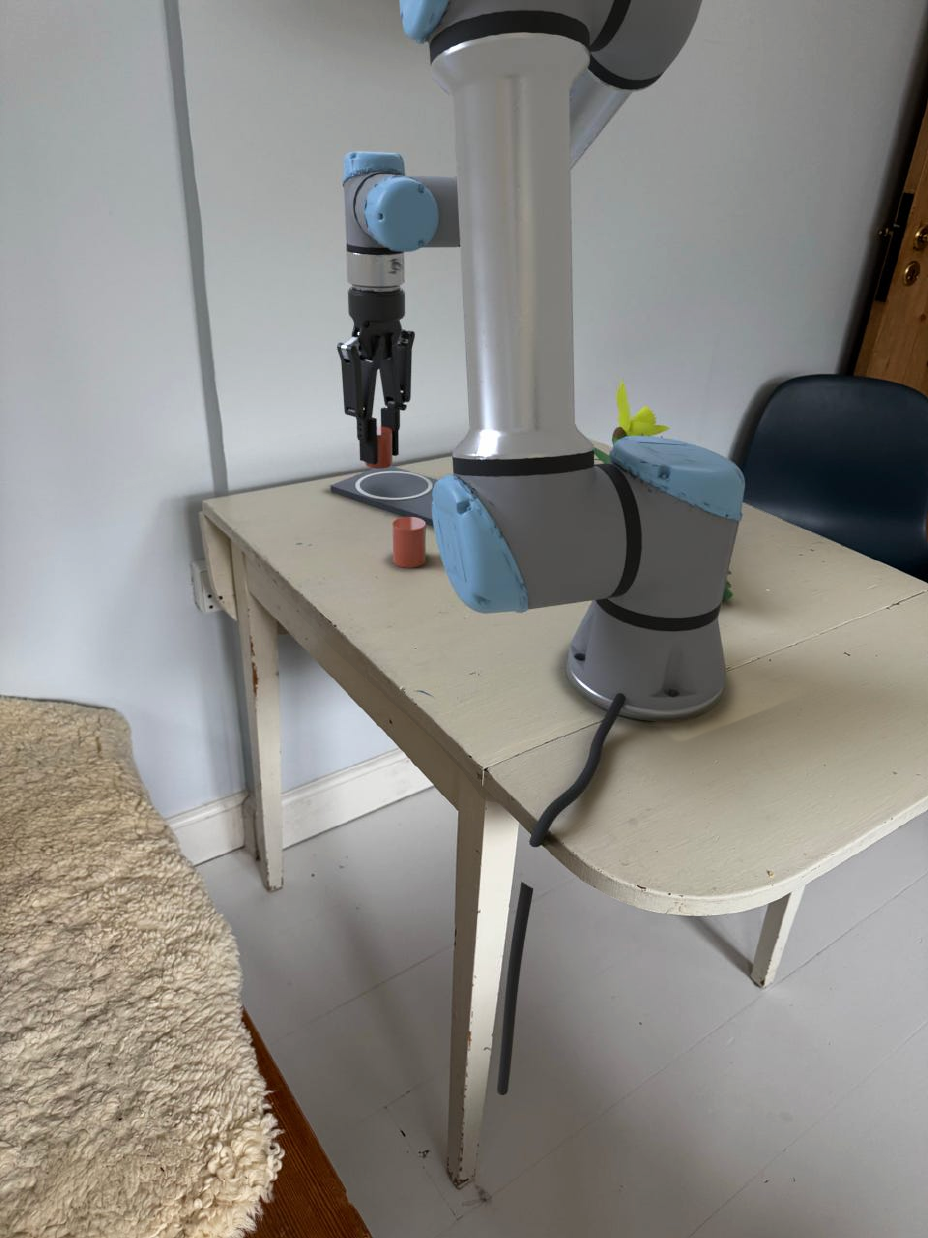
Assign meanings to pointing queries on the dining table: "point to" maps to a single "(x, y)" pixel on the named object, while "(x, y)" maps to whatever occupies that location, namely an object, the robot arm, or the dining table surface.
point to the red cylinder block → (409, 542)
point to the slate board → (391, 491)
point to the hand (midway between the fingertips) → (379, 457)
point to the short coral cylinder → (383, 448)
